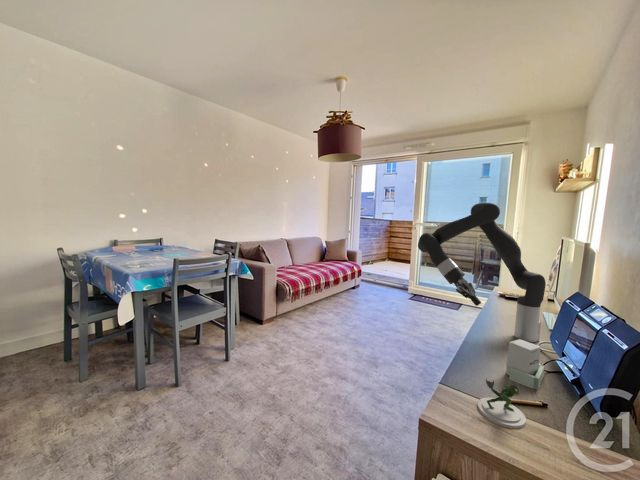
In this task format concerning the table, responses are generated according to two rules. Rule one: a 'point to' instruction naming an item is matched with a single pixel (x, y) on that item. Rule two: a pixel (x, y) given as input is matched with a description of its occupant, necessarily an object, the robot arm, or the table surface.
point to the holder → (528, 377)
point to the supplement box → (523, 357)
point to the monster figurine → (502, 407)
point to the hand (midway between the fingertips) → (479, 304)
